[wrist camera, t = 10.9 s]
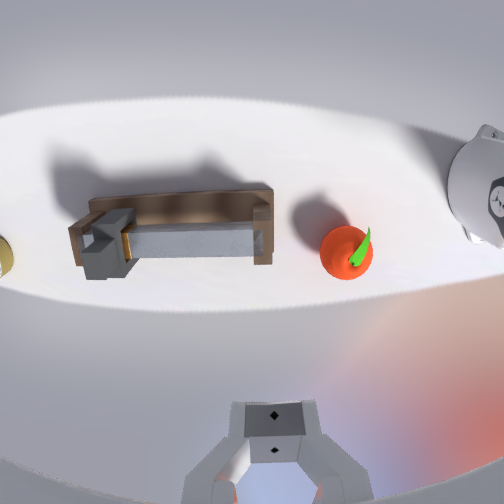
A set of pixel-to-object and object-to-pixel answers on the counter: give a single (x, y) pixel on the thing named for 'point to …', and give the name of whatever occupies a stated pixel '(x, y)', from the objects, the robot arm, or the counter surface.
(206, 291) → the counter surface
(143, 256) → the grey metal bar
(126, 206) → the base
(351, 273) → the clementine
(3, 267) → the paper tube
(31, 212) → the counter surface
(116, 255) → the grey clamp
